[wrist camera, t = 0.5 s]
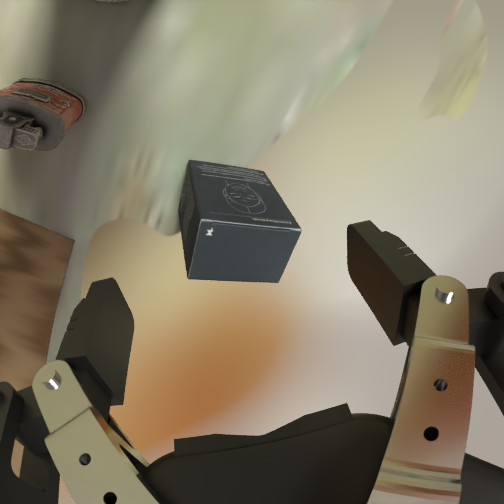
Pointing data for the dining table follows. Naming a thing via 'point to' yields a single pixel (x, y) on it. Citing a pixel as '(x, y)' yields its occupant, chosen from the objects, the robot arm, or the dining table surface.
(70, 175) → the dining table surface
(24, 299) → the stand
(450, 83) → the dining table surface
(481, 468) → the robot arm
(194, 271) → the box
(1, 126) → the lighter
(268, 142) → the dining table surface
